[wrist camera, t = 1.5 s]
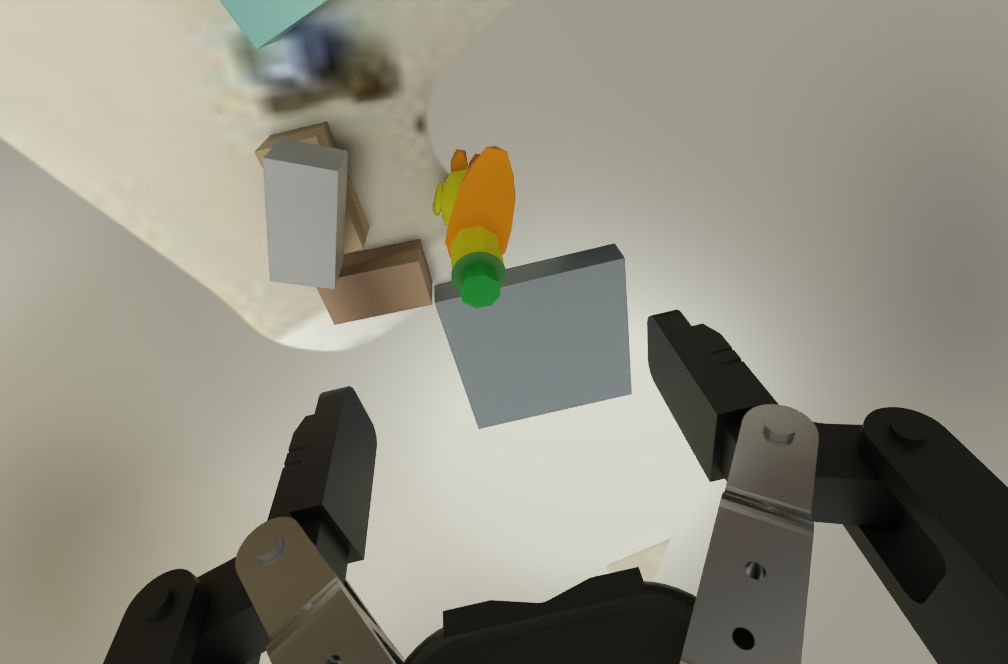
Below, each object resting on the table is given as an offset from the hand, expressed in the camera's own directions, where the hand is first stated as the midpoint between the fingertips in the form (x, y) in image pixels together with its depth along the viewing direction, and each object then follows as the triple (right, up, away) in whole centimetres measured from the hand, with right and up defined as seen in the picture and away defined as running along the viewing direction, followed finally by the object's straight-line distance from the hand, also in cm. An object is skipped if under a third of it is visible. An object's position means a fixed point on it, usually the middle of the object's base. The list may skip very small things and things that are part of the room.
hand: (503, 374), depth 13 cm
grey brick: (-10, +8, +11) cm, 17 cm away
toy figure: (-2, +11, +14) cm, 18 cm away
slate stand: (+3, +1, +22) cm, 22 cm away
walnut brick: (-8, +5, +17) cm, 20 cm away
